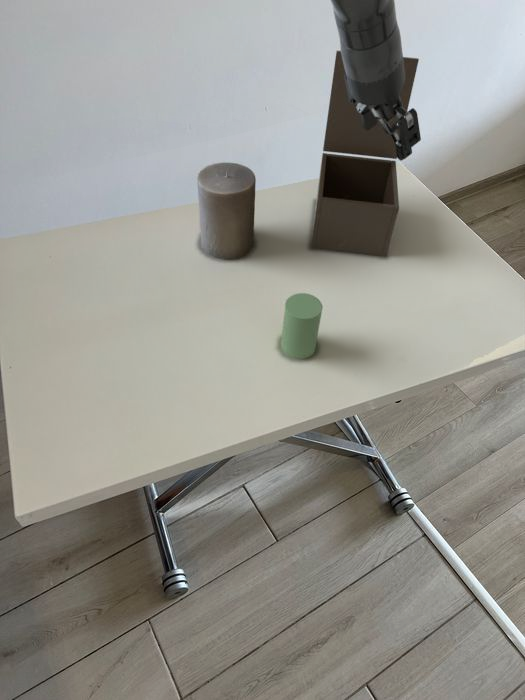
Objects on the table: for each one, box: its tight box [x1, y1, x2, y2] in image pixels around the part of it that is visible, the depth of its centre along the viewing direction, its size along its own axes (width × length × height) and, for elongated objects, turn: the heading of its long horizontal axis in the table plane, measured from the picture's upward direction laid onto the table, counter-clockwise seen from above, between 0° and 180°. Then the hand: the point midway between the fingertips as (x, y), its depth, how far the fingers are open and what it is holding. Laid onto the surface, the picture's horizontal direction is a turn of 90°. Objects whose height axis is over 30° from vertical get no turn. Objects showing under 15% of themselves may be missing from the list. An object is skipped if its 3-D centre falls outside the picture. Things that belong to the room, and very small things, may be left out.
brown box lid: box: [322, 50, 420, 160], centre depth 93 cm, size 16×14×1 cm
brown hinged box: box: [310, 152, 400, 258], centre depth 97 cm, size 16×14×11 cm
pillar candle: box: [196, 162, 257, 261], centre depth 91 cm, size 10×10×15 cm
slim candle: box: [280, 292, 323, 360], centre depth 77 cm, size 5×5×9 cm
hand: (387, 140), depth 83 cm, fingers open, 8 cm apart
